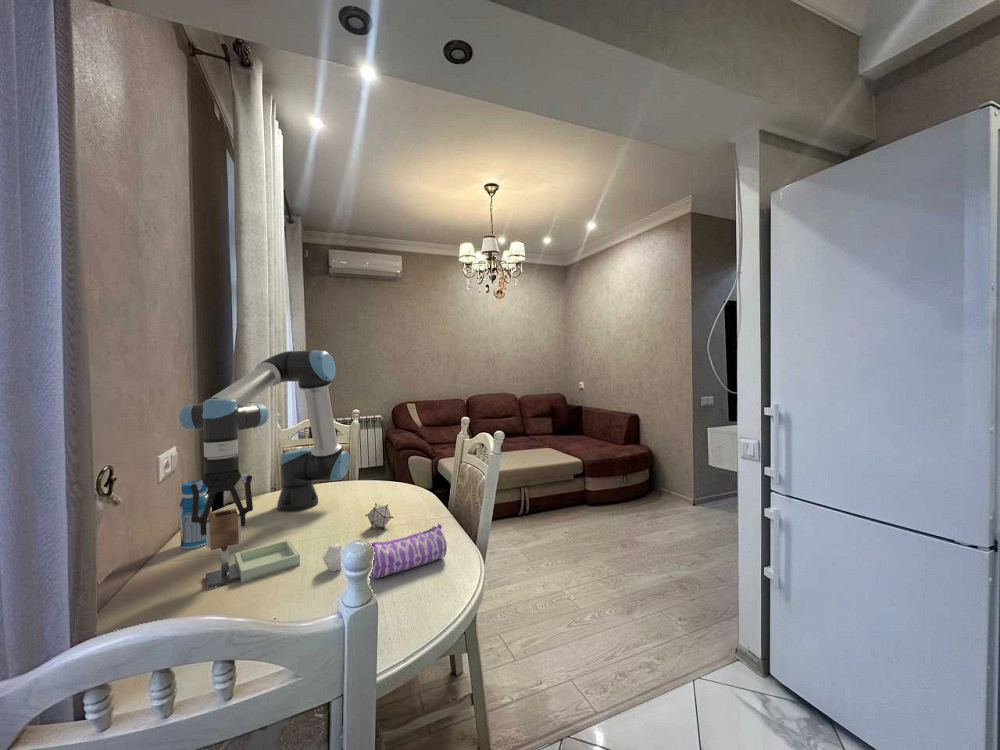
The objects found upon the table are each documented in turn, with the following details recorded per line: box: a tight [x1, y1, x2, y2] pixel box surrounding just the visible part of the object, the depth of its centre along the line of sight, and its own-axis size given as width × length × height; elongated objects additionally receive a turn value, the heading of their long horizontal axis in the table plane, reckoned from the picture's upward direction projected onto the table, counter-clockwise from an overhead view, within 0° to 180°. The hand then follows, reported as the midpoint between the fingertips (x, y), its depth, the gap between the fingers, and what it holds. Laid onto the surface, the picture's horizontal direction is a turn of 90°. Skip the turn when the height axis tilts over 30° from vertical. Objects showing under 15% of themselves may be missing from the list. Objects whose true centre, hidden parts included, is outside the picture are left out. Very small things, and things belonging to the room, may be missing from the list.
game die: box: [364, 502, 395, 531], centre depth 139 cm, size 9×8×10 cm
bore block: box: [209, 507, 240, 551], centre depth 106 cm, size 6×6×8 cm
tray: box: [234, 539, 301, 583], centre depth 114 cm, size 14×14×3 cm
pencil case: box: [369, 523, 448, 579], centre depth 110 cm, size 22×9×10 cm, turn 129°
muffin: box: [322, 543, 344, 572], centre depth 110 cm, size 6×6×7 cm
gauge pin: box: [205, 546, 241, 590], centre depth 106 cm, size 8×8×9 cm
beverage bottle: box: [178, 479, 213, 550], centre depth 129 cm, size 8×8×20 cm
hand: (224, 542), depth 106 cm, fingers closed on bore block, 6 cm apart
